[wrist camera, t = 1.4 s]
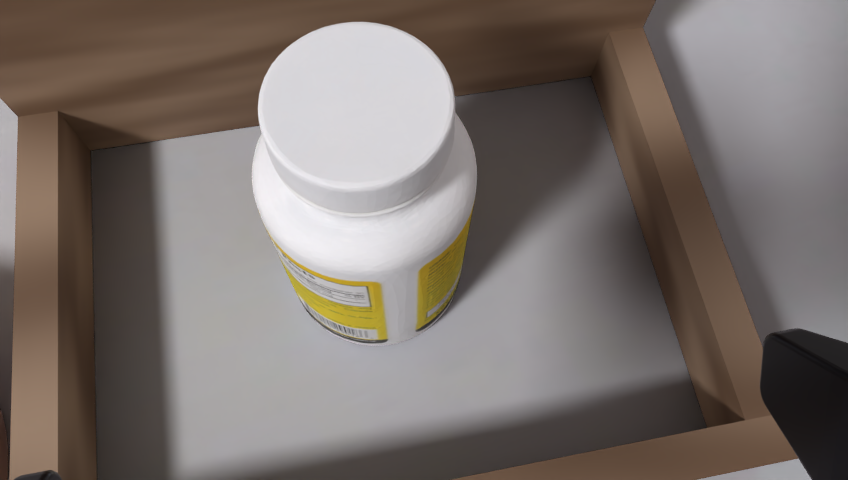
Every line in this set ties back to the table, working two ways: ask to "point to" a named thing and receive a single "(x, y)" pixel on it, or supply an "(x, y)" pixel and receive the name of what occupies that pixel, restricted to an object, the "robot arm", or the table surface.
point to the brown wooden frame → (238, 108)
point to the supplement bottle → (365, 180)
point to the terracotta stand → (3, 450)
